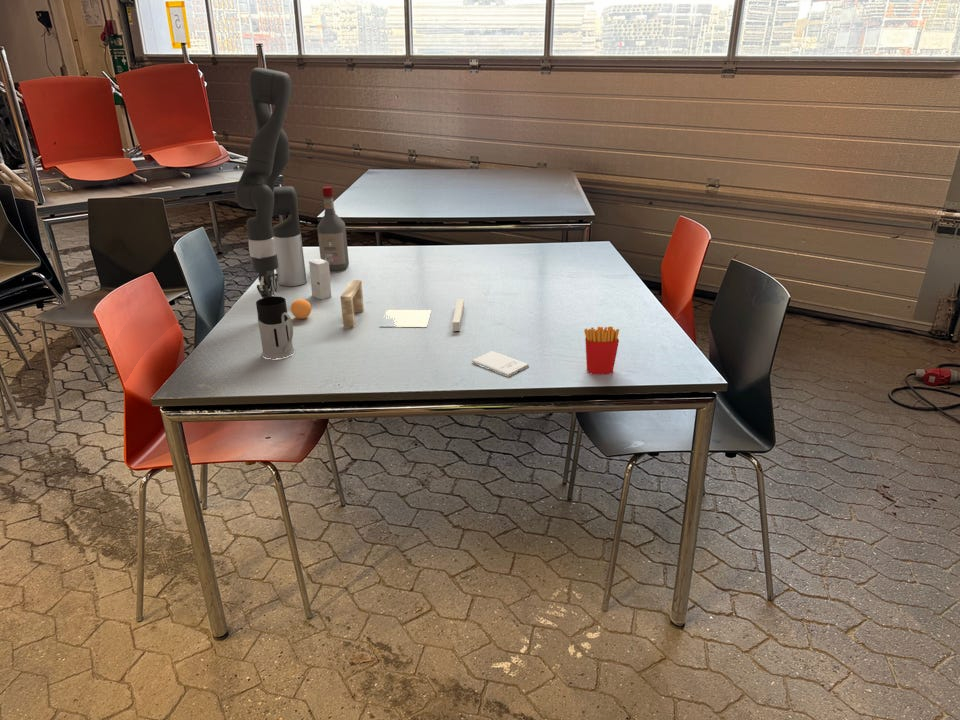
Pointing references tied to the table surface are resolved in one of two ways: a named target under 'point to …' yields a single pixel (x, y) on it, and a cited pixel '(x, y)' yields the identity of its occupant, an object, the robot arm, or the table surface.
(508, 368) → the external hard drive
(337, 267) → the liquor
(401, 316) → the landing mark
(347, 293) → the bridge
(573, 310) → the table surface
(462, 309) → the wall
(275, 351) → the glass holder
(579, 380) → the table surface
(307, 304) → the ball
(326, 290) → the skincare box
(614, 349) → the french fries
